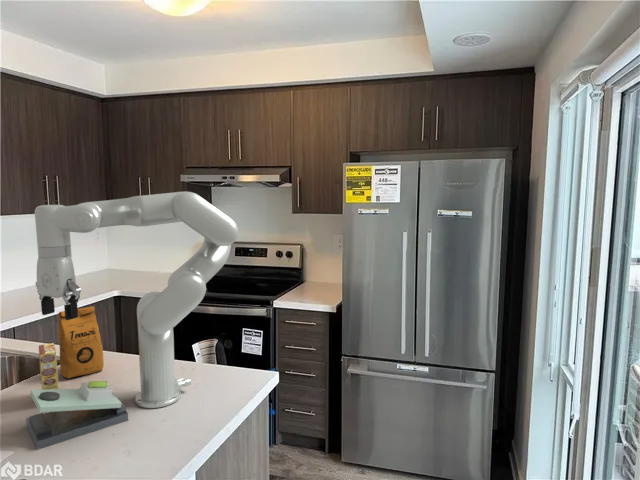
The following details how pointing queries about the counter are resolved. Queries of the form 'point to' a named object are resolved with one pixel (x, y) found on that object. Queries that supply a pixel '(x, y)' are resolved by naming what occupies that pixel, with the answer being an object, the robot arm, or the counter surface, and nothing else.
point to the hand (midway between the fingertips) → (59, 316)
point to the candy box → (48, 367)
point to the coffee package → (80, 344)
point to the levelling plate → (76, 398)
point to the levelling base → (71, 424)
